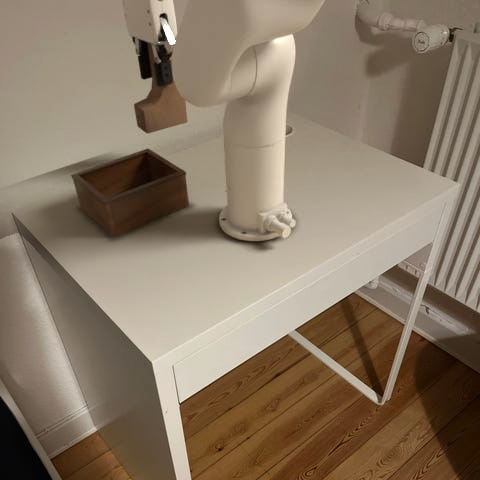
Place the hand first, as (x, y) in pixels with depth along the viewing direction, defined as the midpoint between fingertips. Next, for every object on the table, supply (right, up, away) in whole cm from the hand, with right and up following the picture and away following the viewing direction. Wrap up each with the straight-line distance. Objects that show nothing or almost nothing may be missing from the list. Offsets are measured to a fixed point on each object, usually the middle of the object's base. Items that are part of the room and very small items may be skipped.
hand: (156, 80), depth 93 cm
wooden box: (-4, -23, 0) cm, 24 cm away
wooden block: (0, -6, +6) cm, 9 cm away
